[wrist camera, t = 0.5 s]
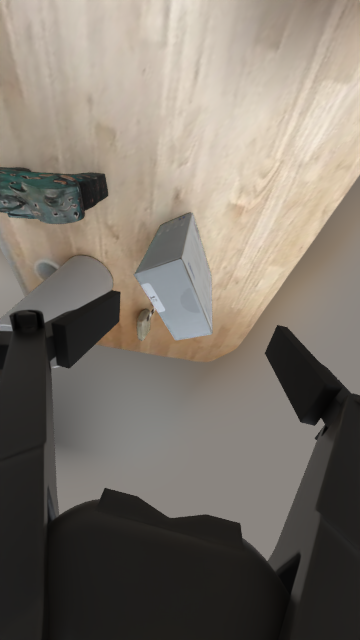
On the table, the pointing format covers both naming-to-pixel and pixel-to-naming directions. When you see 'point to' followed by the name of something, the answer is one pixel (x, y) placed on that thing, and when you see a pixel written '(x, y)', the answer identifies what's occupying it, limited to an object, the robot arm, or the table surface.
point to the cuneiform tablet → (144, 323)
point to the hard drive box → (178, 278)
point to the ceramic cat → (49, 194)
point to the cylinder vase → (65, 290)
